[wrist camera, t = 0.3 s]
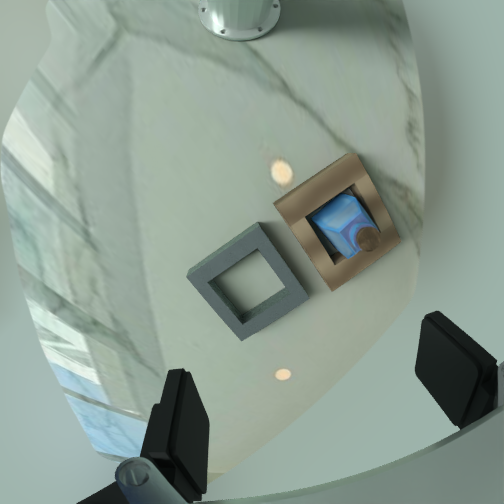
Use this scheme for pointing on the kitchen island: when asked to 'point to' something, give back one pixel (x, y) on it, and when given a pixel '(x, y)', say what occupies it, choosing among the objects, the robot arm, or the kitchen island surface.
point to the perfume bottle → (347, 226)
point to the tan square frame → (319, 192)
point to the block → (229, 256)
